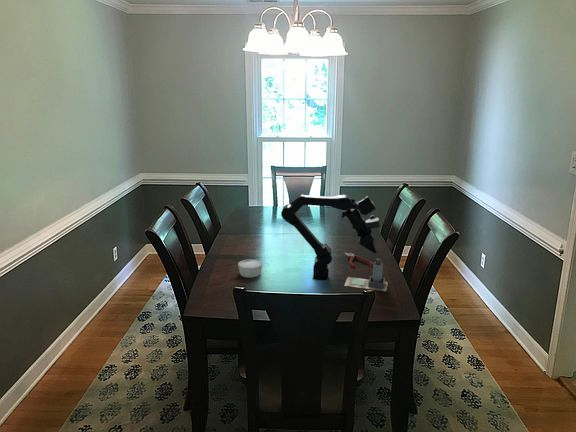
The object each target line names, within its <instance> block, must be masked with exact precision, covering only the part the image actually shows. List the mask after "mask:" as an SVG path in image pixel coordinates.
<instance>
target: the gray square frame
mask: <svg viewBox="0 0 576 432" xmlns="http://www.w3.org/2000/svg"><path fill="white" fill-rule="evenodd" d="M372 278H373V275H371V276H369V279H368V280H369V283H368V287H371V288H379V289H384V285H385V282H386V278H385V277H382V282H381V283H378V282H372Z"/></svg>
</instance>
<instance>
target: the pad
mask: <svg viewBox="0 0 576 432" xmlns="http://www.w3.org/2000/svg"><path fill="white" fill-rule="evenodd" d="M351 284H352V285H360V286H364V285H365V280H358V279H353V281H352V283H351Z"/></svg>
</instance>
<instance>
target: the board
mask: <svg viewBox="0 0 576 432" xmlns="http://www.w3.org/2000/svg"><path fill="white" fill-rule="evenodd" d="M353 279H358V280H365V285H364V286H360V285H352V284H351V283H352V281H353ZM368 283H369V279H366V278H360V277H351V276H347V278H346V280H345V283H344V287H352V288H358V289H359V288H360V289H367V290H374V291H381V292H382V291H383V292H387V289H388V283H389V282H388V281H385V285H384V289H379V288H371V287H368Z"/></svg>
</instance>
